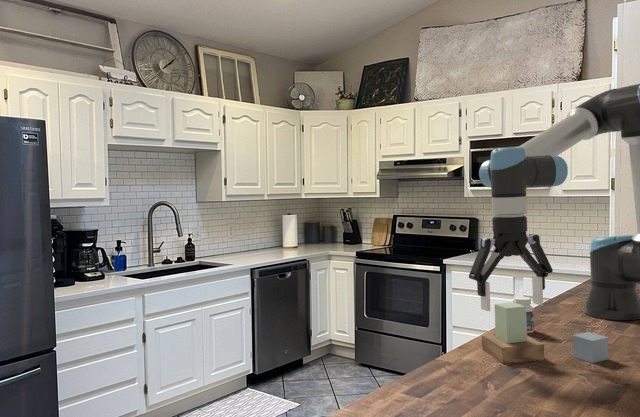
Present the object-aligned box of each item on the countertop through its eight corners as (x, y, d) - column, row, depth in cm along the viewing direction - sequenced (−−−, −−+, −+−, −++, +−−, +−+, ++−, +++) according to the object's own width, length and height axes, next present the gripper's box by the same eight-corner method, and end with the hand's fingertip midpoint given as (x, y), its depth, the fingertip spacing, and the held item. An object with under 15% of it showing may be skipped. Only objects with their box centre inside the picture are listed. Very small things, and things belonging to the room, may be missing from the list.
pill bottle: (535, 334, 138) (535, 300, 138) (514, 333, 139) (514, 300, 139) (531, 328, 144) (531, 296, 143) (511, 328, 145) (511, 295, 144)
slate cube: (588, 353, 122) (588, 332, 122) (608, 359, 118) (608, 337, 117) (573, 356, 120) (572, 335, 120) (592, 363, 116) (592, 340, 115)
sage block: (514, 335, 126) (513, 302, 125) (527, 341, 121) (526, 306, 120) (495, 337, 124) (494, 304, 124) (507, 343, 120) (506, 308, 119)
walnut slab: (521, 348, 128) (520, 332, 128) (544, 361, 119) (543, 344, 118) (482, 351, 127) (481, 335, 127) (502, 365, 117) (501, 347, 117)
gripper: (546, 211, 128) (548, 298, 129) (451, 218, 122) (455, 308, 123) (567, 212, 120) (569, 304, 122) (468, 219, 115) (471, 316, 116)
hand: (512, 307), depth 122 cm, fingers open, 13 cm apart
